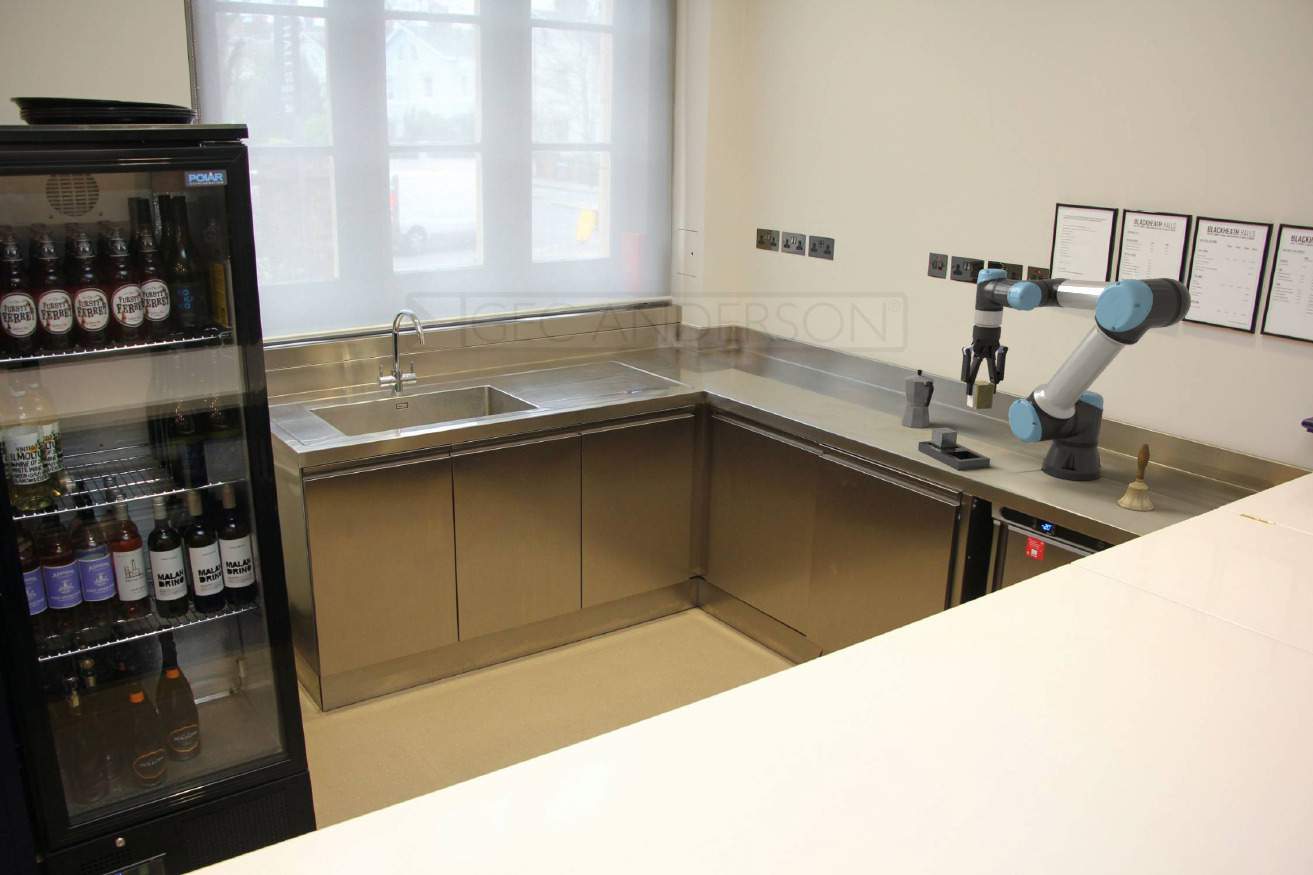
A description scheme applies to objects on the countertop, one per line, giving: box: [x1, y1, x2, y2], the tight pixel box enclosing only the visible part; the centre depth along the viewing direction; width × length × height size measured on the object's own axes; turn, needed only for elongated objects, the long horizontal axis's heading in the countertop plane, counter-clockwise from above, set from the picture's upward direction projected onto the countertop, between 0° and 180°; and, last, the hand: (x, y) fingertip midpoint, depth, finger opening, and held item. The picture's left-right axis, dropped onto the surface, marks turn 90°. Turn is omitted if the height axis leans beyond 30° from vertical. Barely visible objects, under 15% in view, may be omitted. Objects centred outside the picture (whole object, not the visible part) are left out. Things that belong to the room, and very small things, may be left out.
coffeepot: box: [901, 369, 935, 429], centre depth 321 cm, size 15×9×18 cm, turn 14°
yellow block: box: [966, 380, 994, 410], centre depth 289 cm, size 5×5×7 cm
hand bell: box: [1116, 443, 1154, 512], centre depth 250 cm, size 8×8×16 cm
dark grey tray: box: [917, 440, 991, 471], centre depth 287 cm, size 20×10×3 cm, turn 18°
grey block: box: [930, 427, 958, 450], centre depth 291 cm, size 5×5×7 cm
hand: (979, 405), depth 289 cm, fingers closed on yellow block, 5 cm apart
